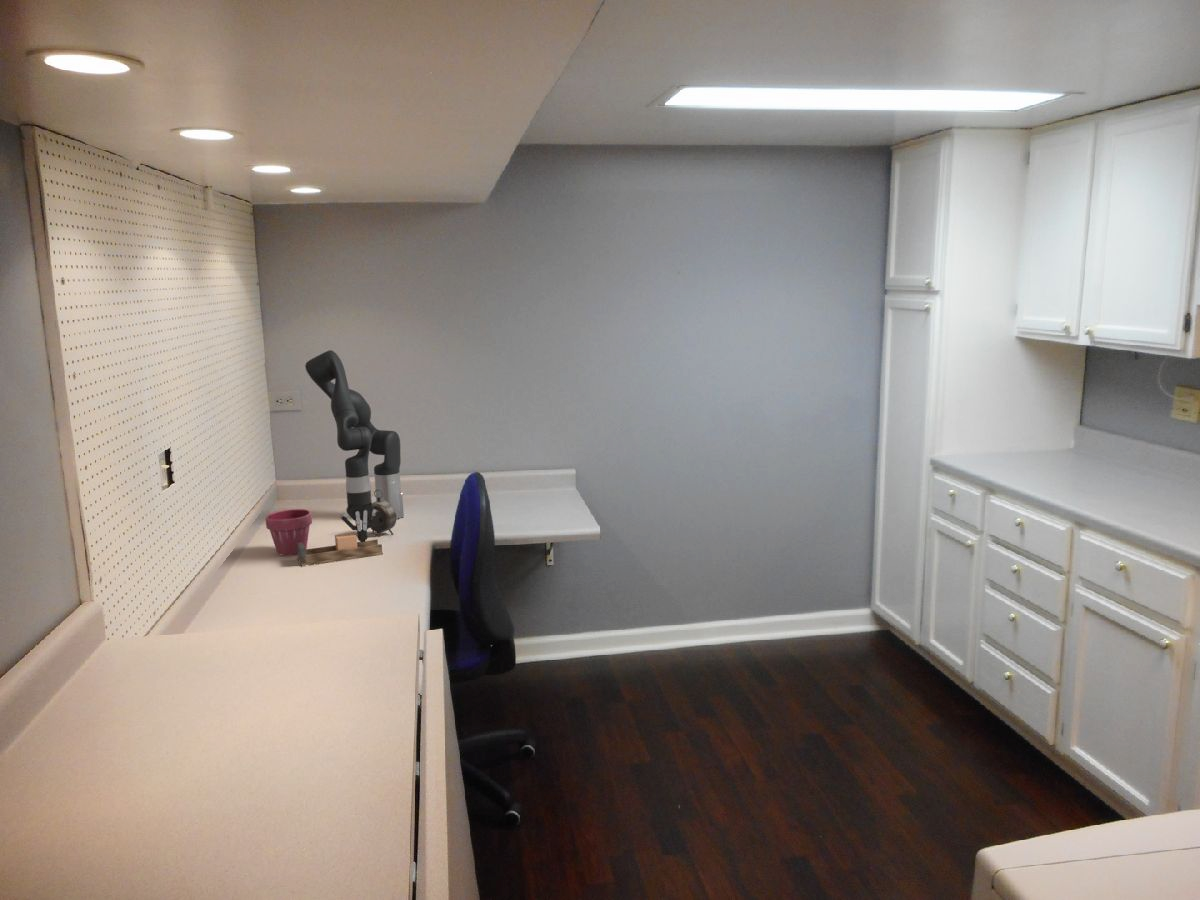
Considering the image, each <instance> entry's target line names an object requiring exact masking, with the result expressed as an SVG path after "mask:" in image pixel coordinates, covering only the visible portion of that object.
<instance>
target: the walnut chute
mask: <svg viewBox="0 0 1200 900" xmlns="http://www.w3.org/2000/svg"><path fill="white" fill-rule="evenodd" d="M382 545H383V544H379V541H378V539H372V540H371V539H370V540H365V542H360V541H357V547H358V548H351V549H344V550H337V551H336V544H335V545H329V546H328V545H327V546H322V547H321V546H319V547H314V548H308V549H306V550H305V547H304V545H303V543H302V542H301V543H297V546H298V554H297V555H298V557H297V558H298V559H297V560H298V561H299V563H300V565H302V566H303V567H307V566H306V565H309V566H315V565H314V564H316V565H320V563H323V564H329V563H334V562H335V561H336V562H342V560H343V561H347V560H348V561H349V560H355V558H356V559H361V558H362V559H363V558H367V557H375V556H382V555H383V554H384V552H383V546H382ZM302 566H301V567H302Z"/></svg>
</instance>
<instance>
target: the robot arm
mask: <svg viewBox="0 0 1200 900" xmlns="http://www.w3.org/2000/svg"><path fill="white" fill-rule="evenodd" d="M304 366H305V371H306V373H307V374H308V376H309V377H310V379H311V380H312V381H313V382H314V383H315V385H317V386H318V388H320V389H321V391H322V392H323V393H325V395H327V397H328V398H329V399H330V410H331V413H332V415H333V419H334V420H335V423H336V429H337V430H336V431H337V436H336V437H337V438H336V439H337V440H336V441H337V446H338V447H339V448H340V449H341V450H342V451H345V452H348V451H356V450H358V452H357V453H356V454H355V455H353V456H351V457H347V458H346V459H345V462H344V467H345V468H344V469H345V491H346V502H347V506H346V509H345V513H344V514H341V515H340V519H341V521H343V522H344V524H346V525H347V526H348V527H349V528H350V529H351V530H352V531H356V536H357V541H358V542H365V541H368V531H367V530H368V529H371V527H372V526H373V525H374V523H375V522H376V520H377V519H378V517H379V516H380V514H381V513H380V512H379V511H378V510H375V509H374V507H373V505H372V503H373V502H372V491H371V489H372V486H371V480H370V475H369V456H370V453H371V454H373V455H377V456H384V457H383V461H382V462H381V463H379V464H376V465H375V466H374V467H373V471H374V473H373V474H374V475H373V476H374V487H375V488H374V489H375V490H377V489H379V490H381V491H382V493H381V492H380V491H379V490H377V491H376V492H375V495H376V497H377V498H378V497H381V496H382V497H381V498H380V500H385V501H387V502H389V503H390V504H391V505H392V506H393V508H394V510H395V512H396V520H399V519H401V517H403V518H404V517H405V513H404V498H403V492H402V491H401V490H402V487H401V475H400V474H401V473H400V467H401V439H400V435H399V434H398V433H397V432H396V431H395V430H385V429H384V430H383V429H382V430H381V429H377V428H376V427H375V426H374V424H373V422H371V418H372V410H371V409H372V408H371V406H370V404H369V403H368V402H367V400H365V399H366V398H364V396H363V395H362V394H361V393H359V392H358V391H356V390H354V389H350V388H349V383H348V378H347V374H346V369H345V366H344V364H343V362H342V360H341V358H340V357H339V355H338V354H337V353H336V352H335V351H334V350H332V349H330V350H329V349H328V350H326V351H324V352H322V353H320V354H319V355H316V356H315V357H313V358H310V359H309V360H308V361H306V362H305V365H304ZM333 380H334V382H332V381H333ZM382 494H383V495H382ZM376 497H375V502H376V501H378V499H377V498H376ZM371 513H372V515H373V516H372V517H371V519H370V520H369V522H368V523H367V519H368V518H369V516H370V515H371ZM349 516H350V517H349ZM350 518H351V519H352V520H353V521H354V524H353V523H352V522H351V521H350ZM398 518H399V519H398Z"/></svg>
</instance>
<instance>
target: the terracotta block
mask: <svg viewBox="0 0 1200 900" xmlns="http://www.w3.org/2000/svg"><path fill="white" fill-rule="evenodd" d="M334 542H335V545H336V551H337V550H344V549H351V548H358V547H357V542H358V537H357V534H356V533H355V532H348V533H347V532H346V533H341V534H334Z"/></svg>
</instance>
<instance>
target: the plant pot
mask: <svg viewBox="0 0 1200 900" xmlns="http://www.w3.org/2000/svg"><path fill="white" fill-rule="evenodd" d="M312 518H313V517H312V512H311V511H310V510H309V509H303V508H295V509H294V508H293V509H283V510H279V511H274V512H271V513H268V514H267V515H266V516H265V526H266V529H267V530H269V532H270V535H271V539H272V542H273V544H274V547H275V551H276V553H277V554H278V555H279V554H283V555H282V556H293V554H295V555H298V546H297V543H301V542H302V543H303V545H304V547H305V550H306V549H307V548H308V541H309V535H310V534H309V533H310V526H311V525H312V523H313V519H312Z"/></svg>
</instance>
